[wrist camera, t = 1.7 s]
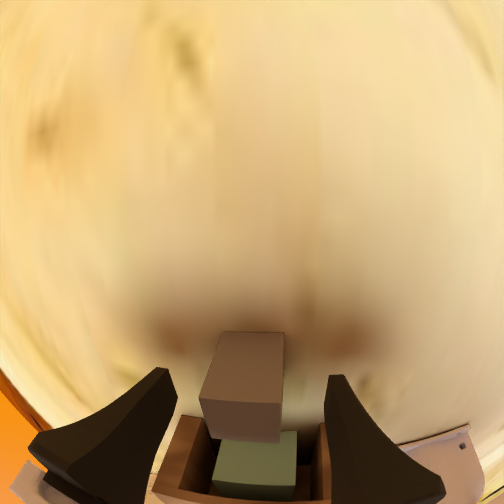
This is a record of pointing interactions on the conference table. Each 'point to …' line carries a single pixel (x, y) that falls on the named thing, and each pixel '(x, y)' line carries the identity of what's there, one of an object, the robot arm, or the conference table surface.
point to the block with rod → (249, 418)
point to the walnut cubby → (203, 464)
